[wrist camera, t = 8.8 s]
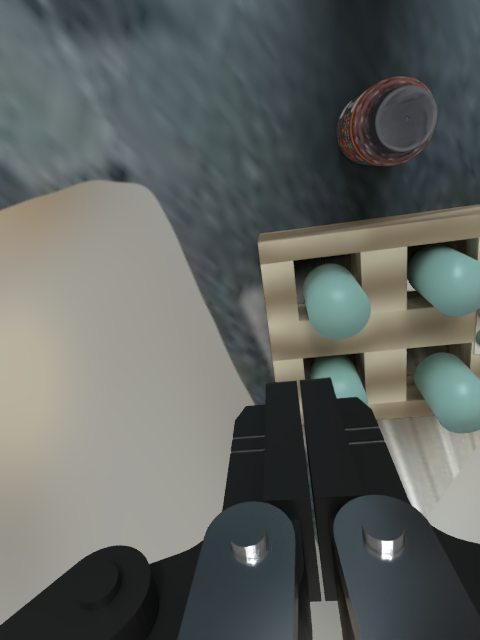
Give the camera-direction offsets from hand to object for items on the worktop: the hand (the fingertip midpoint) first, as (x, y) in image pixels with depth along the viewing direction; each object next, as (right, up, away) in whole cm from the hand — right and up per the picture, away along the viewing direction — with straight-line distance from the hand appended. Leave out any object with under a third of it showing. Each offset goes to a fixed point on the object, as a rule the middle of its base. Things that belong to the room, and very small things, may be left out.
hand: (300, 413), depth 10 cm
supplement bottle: (+10, +20, +27) cm, 35 cm away
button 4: (+17, +7, +28) cm, 34 cm away
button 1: (+8, -3, +33) cm, 34 cm away
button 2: (+7, +5, +27) cm, 29 cm away
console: (+14, +3, +33) cm, 36 cm away
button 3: (+18, -3, +30) cm, 35 cm away
